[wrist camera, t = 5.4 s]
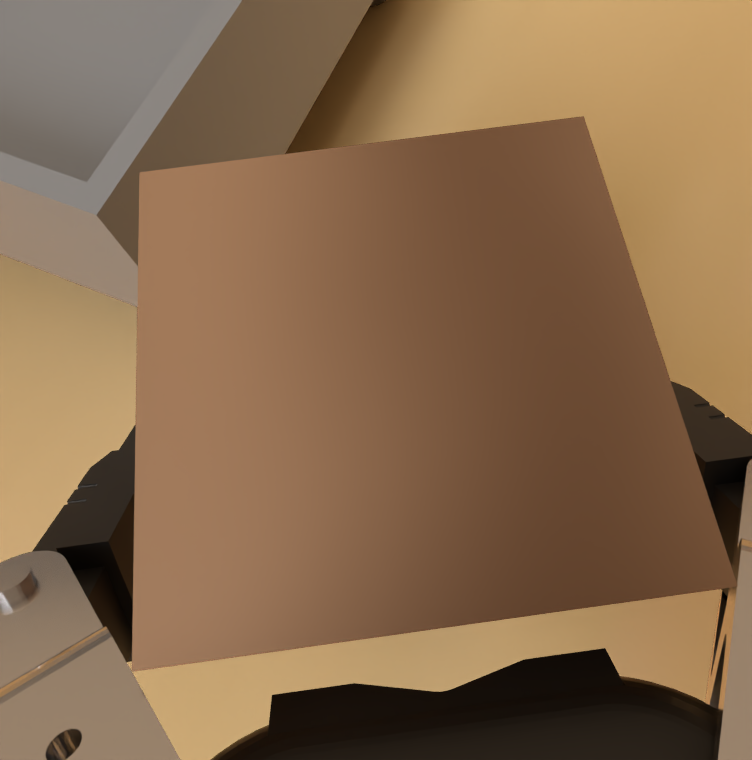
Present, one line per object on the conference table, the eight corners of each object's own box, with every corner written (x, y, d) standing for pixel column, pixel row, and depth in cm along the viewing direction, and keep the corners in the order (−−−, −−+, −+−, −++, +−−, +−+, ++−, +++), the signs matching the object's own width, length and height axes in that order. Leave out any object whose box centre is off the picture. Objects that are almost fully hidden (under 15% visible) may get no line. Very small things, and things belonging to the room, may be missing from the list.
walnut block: (318, 607, 16) (132, 671, 5) (302, 435, 18) (139, 171, 6) (493, 582, 16) (738, 586, 5) (461, 414, 18) (583, 116, 6)
